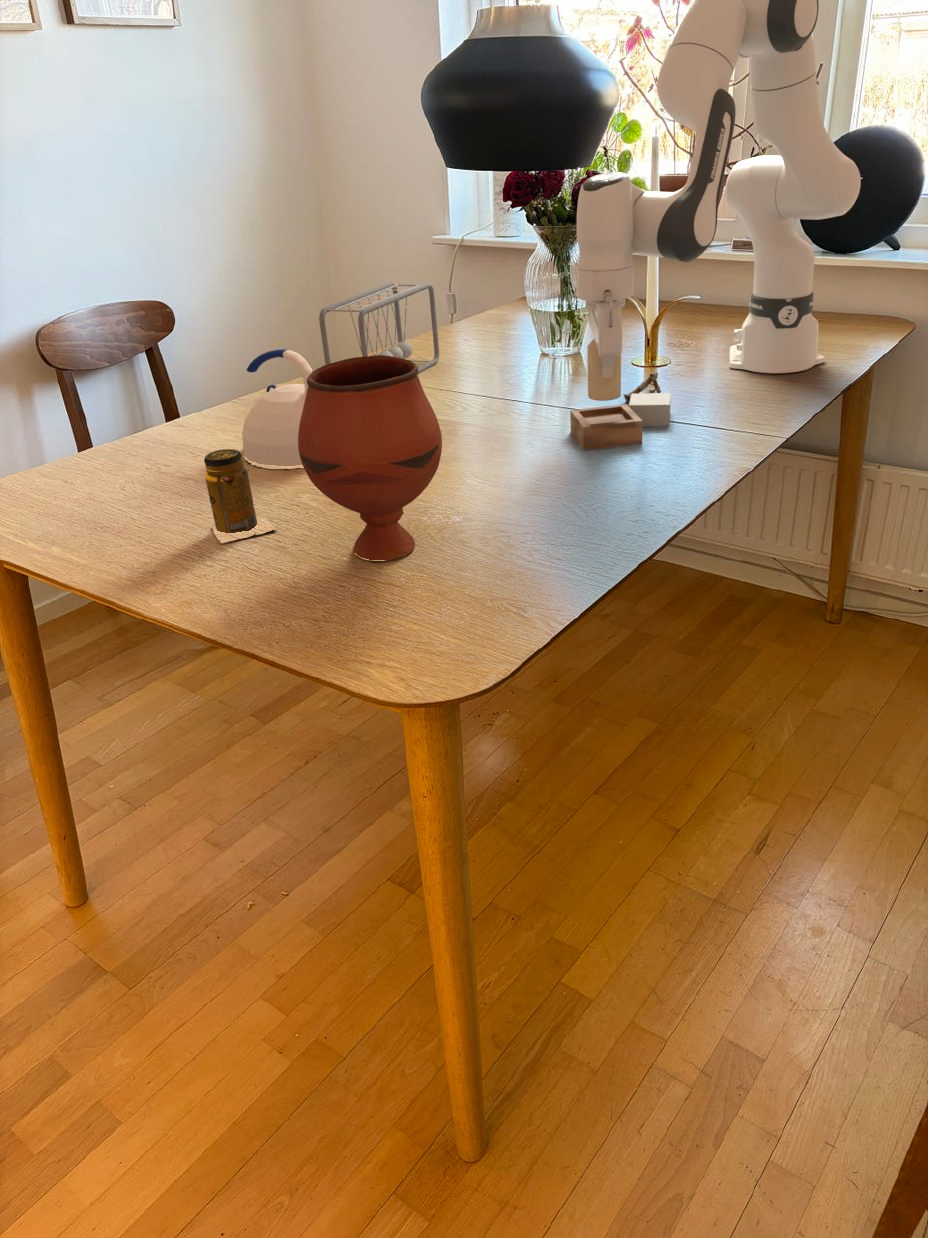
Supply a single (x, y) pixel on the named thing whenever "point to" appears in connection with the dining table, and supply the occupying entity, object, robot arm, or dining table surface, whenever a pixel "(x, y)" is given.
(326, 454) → the goblet
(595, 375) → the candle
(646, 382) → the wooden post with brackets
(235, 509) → the condiment
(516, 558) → the dining table surface
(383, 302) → the newton's cradle
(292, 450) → the kettle
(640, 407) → the grey block
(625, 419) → the square wooden tray
